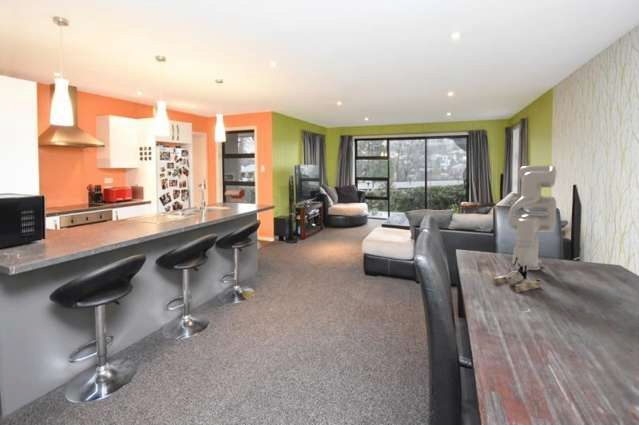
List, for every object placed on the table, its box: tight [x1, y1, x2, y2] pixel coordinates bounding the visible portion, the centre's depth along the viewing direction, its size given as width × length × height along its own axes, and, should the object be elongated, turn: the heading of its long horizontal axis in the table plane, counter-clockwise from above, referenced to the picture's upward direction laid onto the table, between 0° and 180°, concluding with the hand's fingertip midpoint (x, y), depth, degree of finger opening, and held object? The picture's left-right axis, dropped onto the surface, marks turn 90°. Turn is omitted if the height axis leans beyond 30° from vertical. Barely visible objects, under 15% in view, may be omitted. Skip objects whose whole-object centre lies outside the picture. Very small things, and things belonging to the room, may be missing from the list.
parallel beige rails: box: [492, 274, 542, 293], centre depth 171 cm, size 16×14×4 cm
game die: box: [504, 269, 526, 287], centre depth 170 cm, size 9×8×10 cm
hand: (522, 278), depth 173 cm, fingers closed
